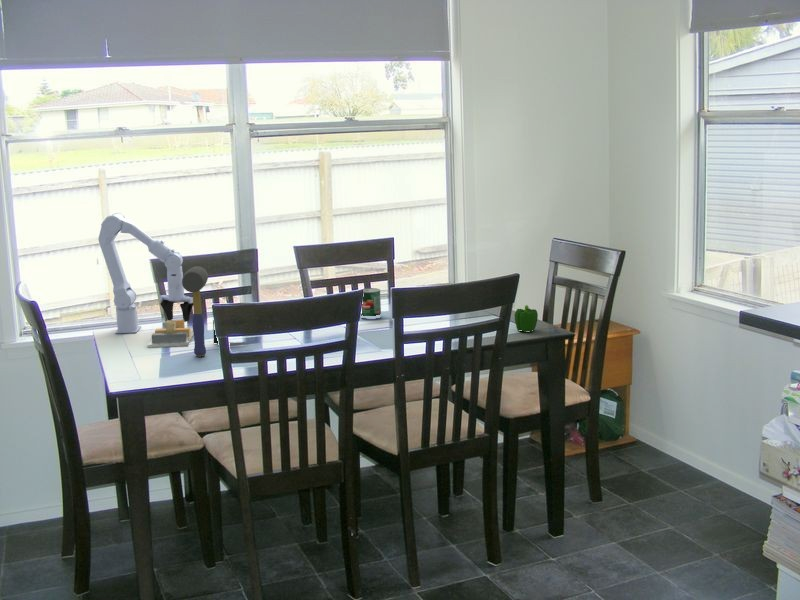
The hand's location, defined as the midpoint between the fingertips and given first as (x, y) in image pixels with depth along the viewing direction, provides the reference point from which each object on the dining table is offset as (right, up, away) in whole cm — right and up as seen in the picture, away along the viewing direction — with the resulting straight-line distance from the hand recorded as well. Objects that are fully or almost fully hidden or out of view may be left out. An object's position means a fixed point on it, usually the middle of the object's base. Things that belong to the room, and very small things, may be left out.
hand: (178, 320), depth 349 cm
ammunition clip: (+23, -8, -21) cm, 32 cm away
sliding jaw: (+1, -4, -10) cm, 11 cm away
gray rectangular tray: (+1, -6, -13) cm, 15 cm away
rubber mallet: (+17, -11, -39) cm, 44 cm away
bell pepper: (+129, -4, -15) cm, 130 cm away
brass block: (+2, -6, -17) cm, 18 cm away
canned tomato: (+72, +1, +13) cm, 73 cm away
